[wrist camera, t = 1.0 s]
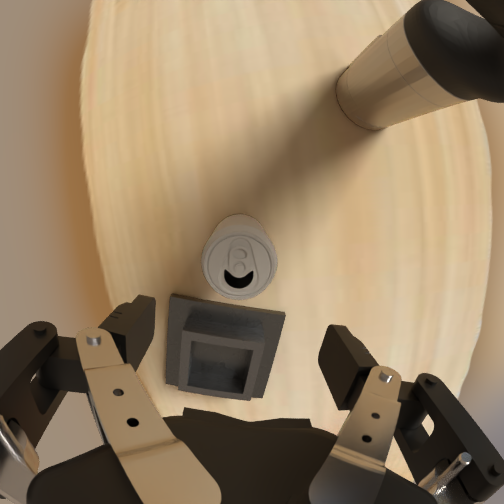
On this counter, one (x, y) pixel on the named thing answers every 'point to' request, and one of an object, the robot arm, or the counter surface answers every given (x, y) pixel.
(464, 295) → the counter surface
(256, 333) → the grey square socket holder
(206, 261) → the beverage can
